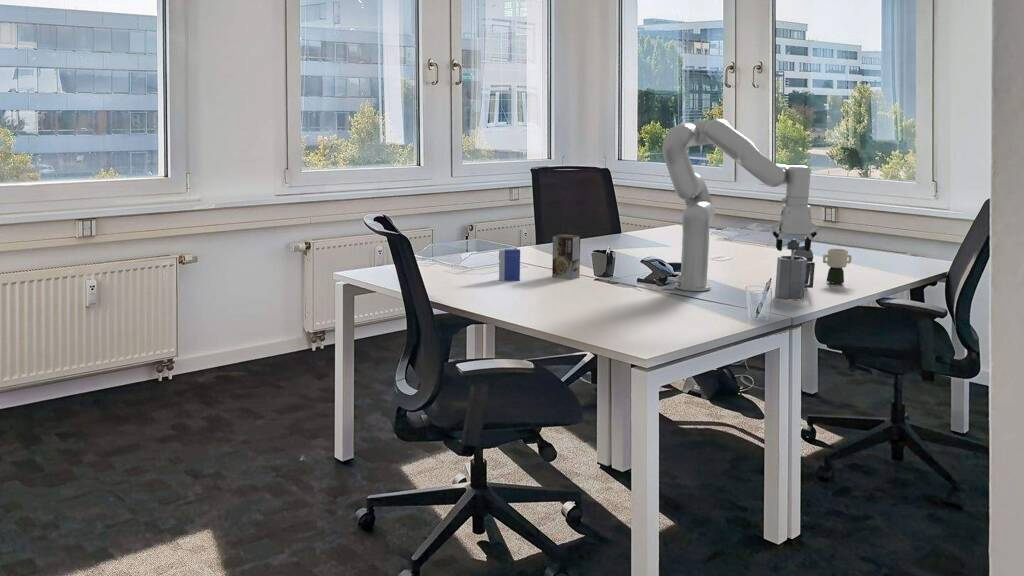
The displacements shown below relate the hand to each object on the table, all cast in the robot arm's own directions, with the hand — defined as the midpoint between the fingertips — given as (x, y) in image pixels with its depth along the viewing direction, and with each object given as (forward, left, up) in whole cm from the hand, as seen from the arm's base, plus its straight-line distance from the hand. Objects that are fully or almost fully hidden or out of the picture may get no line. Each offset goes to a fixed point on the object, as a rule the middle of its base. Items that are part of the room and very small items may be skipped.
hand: (792, 250), depth 320 cm
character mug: (+26, +25, -17) cm, 40 cm away
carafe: (+2, 0, -17) cm, 17 cm away
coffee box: (-76, +34, -17) cm, 85 cm away
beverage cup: (+10, +17, -17) cm, 26 cm away
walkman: (-98, +27, -17) cm, 103 cm away
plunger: (0, 0, -17) cm, 17 cm away
